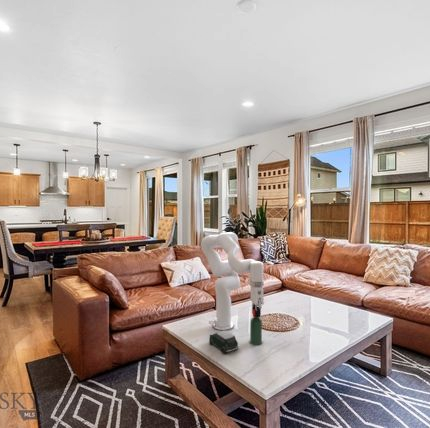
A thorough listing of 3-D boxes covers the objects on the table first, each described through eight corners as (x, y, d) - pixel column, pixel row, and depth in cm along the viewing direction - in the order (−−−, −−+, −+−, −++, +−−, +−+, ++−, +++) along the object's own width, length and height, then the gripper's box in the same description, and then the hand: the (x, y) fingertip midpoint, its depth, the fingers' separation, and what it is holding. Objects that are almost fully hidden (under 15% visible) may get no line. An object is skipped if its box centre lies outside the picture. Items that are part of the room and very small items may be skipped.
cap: (260, 317, 166) (261, 311, 166) (254, 318, 165) (254, 311, 165) (258, 314, 170) (258, 308, 170) (251, 315, 169) (251, 309, 169)
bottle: (252, 345, 165) (252, 313, 164) (248, 340, 171) (249, 309, 170) (263, 344, 166) (263, 312, 166) (259, 339, 172) (259, 308, 172)
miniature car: (220, 338, 173) (220, 324, 173) (240, 350, 159) (240, 335, 159) (207, 342, 167) (207, 328, 167) (226, 355, 153) (226, 340, 153)
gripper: (268, 287, 160) (267, 320, 161) (257, 279, 176) (257, 309, 177) (255, 288, 158) (254, 321, 159) (245, 280, 174) (245, 310, 175)
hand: (256, 315), depth 168 cm, fingers closed on cap, 4 cm apart
